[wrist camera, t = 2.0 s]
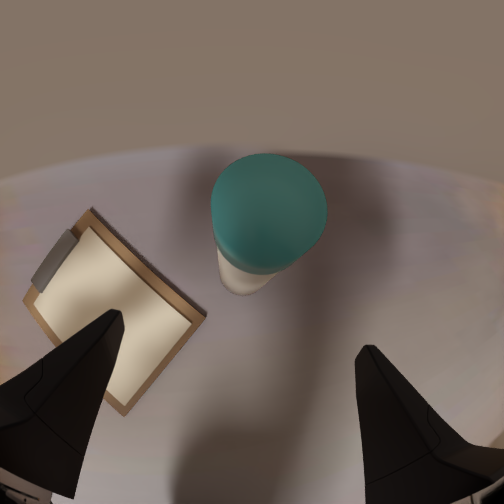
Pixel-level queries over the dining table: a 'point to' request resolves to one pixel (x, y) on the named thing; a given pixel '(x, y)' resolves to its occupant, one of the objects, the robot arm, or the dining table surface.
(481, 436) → the dining table surface
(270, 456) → the dining table surface
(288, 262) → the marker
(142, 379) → the clipboard
